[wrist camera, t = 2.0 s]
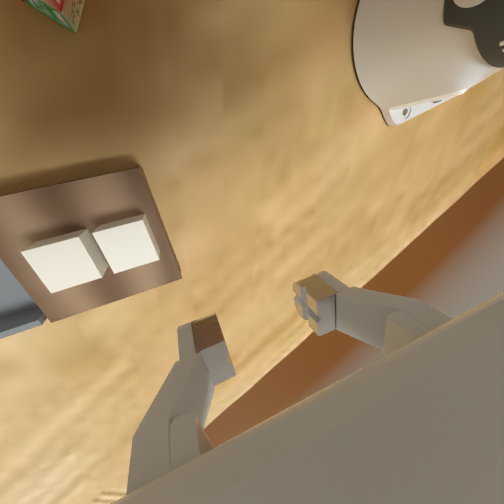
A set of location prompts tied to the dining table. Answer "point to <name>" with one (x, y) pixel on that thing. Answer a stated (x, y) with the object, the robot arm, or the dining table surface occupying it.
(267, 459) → the robot arm
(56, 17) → the stack of blocks
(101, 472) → the dining table surface
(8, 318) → the tray
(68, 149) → the dining table surface
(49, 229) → the board
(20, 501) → the dining table surface
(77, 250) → the tile
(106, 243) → the tile
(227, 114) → the dining table surface
